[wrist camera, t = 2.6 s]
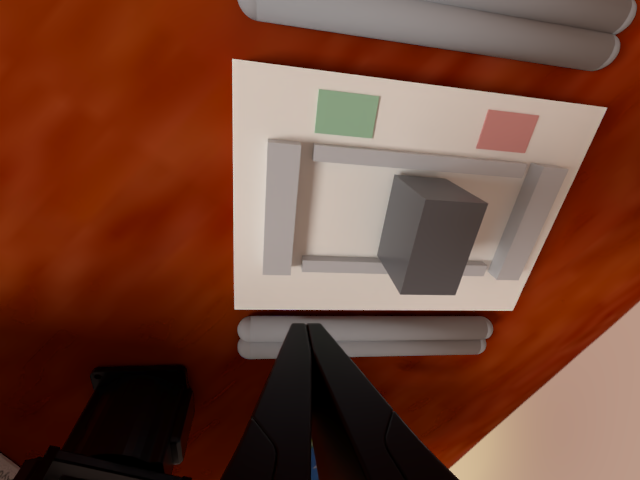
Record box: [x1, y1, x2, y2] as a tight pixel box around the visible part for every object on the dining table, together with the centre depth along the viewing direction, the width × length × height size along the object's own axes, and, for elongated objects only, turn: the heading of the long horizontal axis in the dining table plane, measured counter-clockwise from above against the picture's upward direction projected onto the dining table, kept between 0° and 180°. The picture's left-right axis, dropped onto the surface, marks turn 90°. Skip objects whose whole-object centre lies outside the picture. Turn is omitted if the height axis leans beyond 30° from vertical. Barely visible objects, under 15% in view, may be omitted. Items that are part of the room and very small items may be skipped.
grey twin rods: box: [238, 0, 637, 359], centre depth 20 cm, size 20×24×2 cm
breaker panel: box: [232, 59, 607, 311], centre depth 19 cm, size 20×14×3 cm
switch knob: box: [377, 174, 488, 295], centre depth 17 cm, size 3×5×4 cm, turn 173°
